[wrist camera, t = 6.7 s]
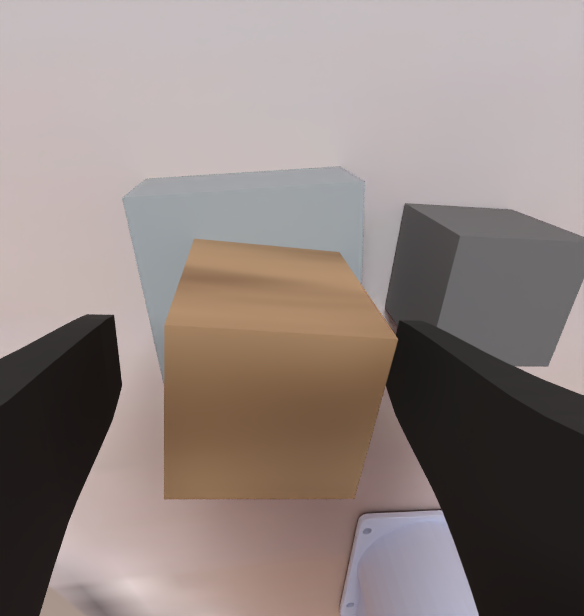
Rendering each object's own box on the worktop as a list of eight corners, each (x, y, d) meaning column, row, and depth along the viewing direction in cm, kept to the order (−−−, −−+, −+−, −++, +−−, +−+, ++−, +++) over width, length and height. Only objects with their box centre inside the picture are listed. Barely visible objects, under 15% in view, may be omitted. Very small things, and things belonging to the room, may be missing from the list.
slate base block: (338, 330, 19) (358, 376, 15) (178, 346, 18) (166, 396, 15) (339, 166, 15) (364, 181, 12) (146, 178, 15) (122, 197, 12)
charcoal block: (481, 310, 19) (547, 366, 15) (385, 308, 18) (426, 366, 14) (512, 209, 17) (598, 242, 13) (405, 203, 16) (460, 235, 12)
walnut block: (317, 370, 15) (354, 498, 10) (190, 364, 14) (164, 498, 9) (339, 251, 13) (398, 339, 8) (194, 238, 12) (164, 325, 8)
